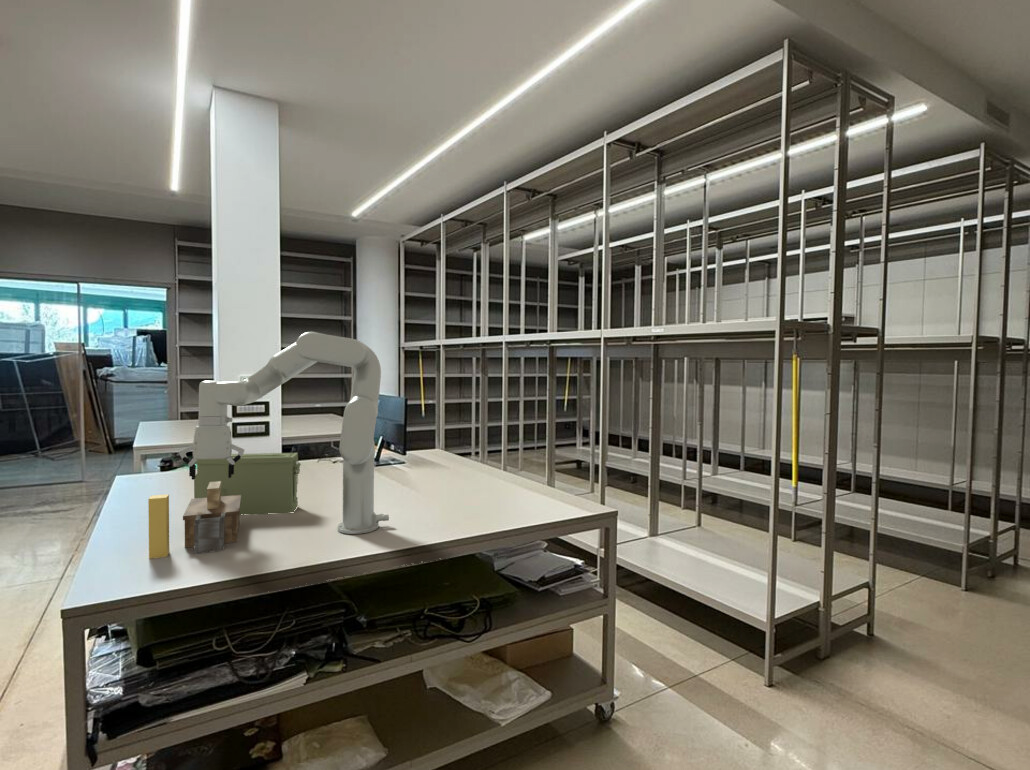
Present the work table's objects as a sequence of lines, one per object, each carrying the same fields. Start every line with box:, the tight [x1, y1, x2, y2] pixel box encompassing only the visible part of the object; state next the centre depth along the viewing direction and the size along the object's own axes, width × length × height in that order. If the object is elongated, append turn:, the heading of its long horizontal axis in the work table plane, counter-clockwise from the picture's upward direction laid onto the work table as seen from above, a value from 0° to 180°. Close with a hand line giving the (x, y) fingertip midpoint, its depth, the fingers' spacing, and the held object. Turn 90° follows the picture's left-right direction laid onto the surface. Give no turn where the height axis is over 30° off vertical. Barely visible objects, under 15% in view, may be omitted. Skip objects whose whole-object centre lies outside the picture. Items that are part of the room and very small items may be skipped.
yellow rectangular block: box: [147, 493, 170, 560], centre depth 146 cm, size 4×4×16 cm
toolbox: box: [184, 512, 241, 554], centre depth 161 cm, size 13×26×8 cm, turn 25°
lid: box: [182, 481, 241, 525], centre depth 161 cm, size 14×27×8 cm, turn 25°
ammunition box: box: [193, 452, 302, 516], centre depth 190 cm, size 10×33×20 cm, turn 102°
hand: (212, 477), depth 163 cm, fingers open, 9 cm apart
